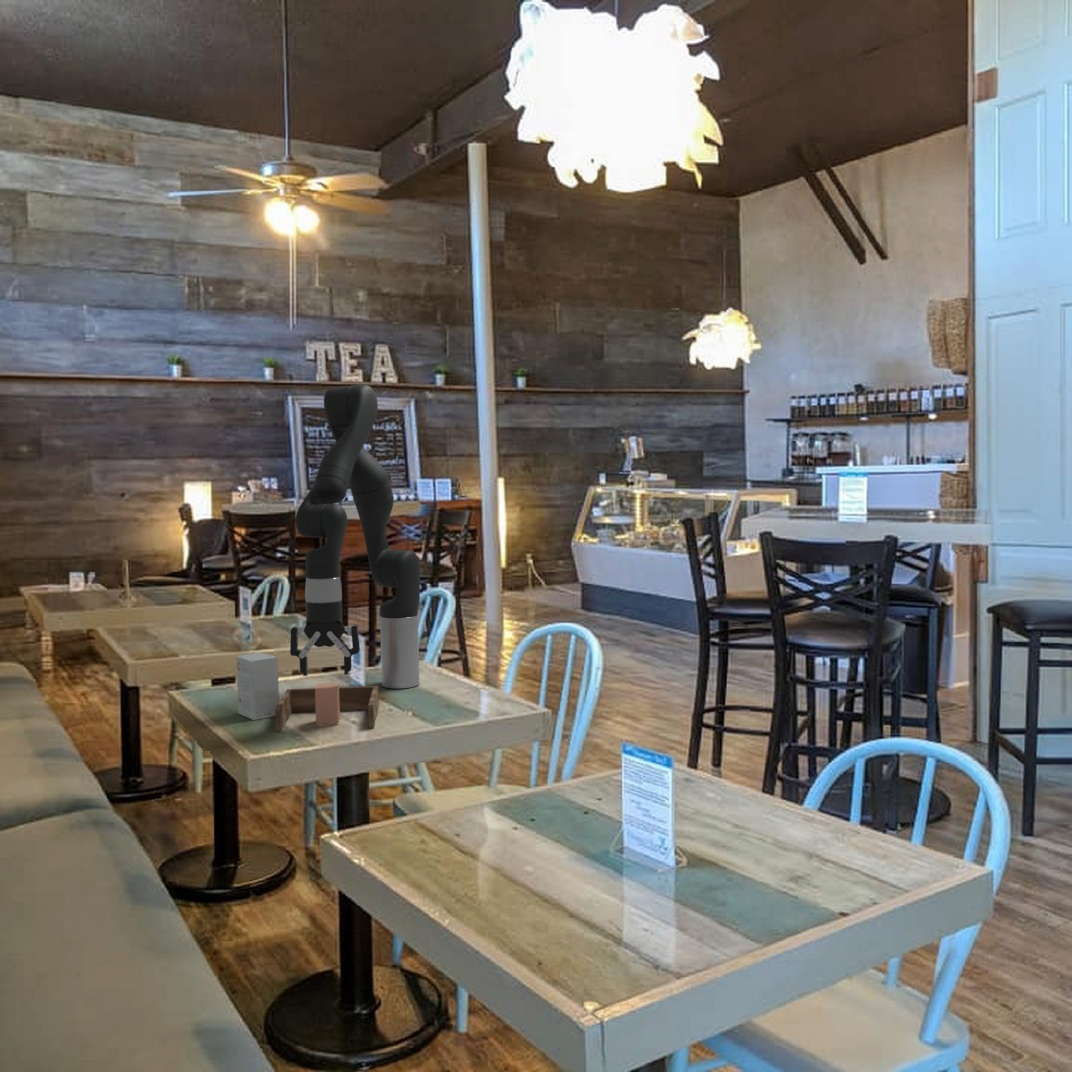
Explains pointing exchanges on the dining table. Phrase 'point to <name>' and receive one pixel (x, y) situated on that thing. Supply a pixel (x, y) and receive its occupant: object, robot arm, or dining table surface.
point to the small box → (257, 685)
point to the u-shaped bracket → (347, 698)
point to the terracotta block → (327, 704)
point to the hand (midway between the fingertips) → (325, 674)
